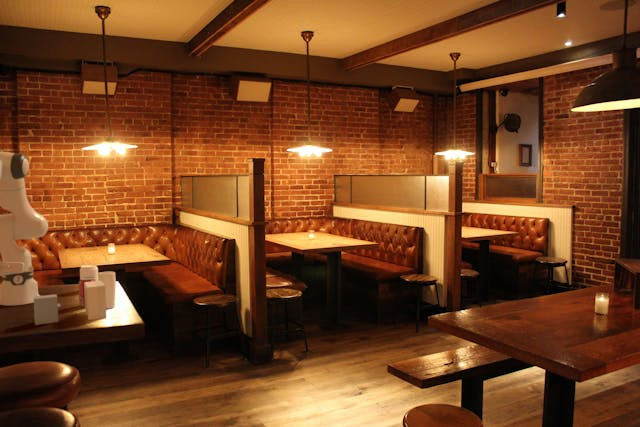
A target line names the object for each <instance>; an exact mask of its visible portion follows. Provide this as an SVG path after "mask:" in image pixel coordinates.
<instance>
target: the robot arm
mask: <svg viewBox="0 0 640 427" xmlns="http://www.w3.org/2000/svg"><path fill="white" fill-rule="evenodd" d="M29 170H30V162H29V159H28V157H27V156H26V155H25V154H23V153H19V152H9V151H0V207H1V208H3V210H6V211H9V212H10V213H12V214H0V255H1V260H2V261H0V276H1V277H2V282H1V283H0V306H20V305H28V304H34V297H36V296H42V295H40V294H39V288H38V285H39V284H38V281H36V280H35V279H34V269H35V267H34V266H33V265H32V253H31V251H30V250H28V248H26V247H23V246H20V245H18V244H17V243H16V241H17V240H32V239H38V238H42V237H44V236H45V235H46V234H47V232H48V229H49V223H48V220H47V219H46V218H45V217H44V215H42V214H40V213H38V212H37V211H36V210H35V209H34V208H33V207H32V205H31V204H30V202H29V200H28V196H27V190H26V183H25V182H26V181H25V178H26V176H27V175H28V174H29Z"/></svg>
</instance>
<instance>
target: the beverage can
mask: <svg viewBox="0 0 640 427" xmlns="http://www.w3.org/2000/svg"><path fill="white" fill-rule="evenodd" d="M98 274H99V268H98V266H97V264H84V265H81V266H80V268H79V279H80V278H84V277H94V279H95V281H98Z"/></svg>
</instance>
